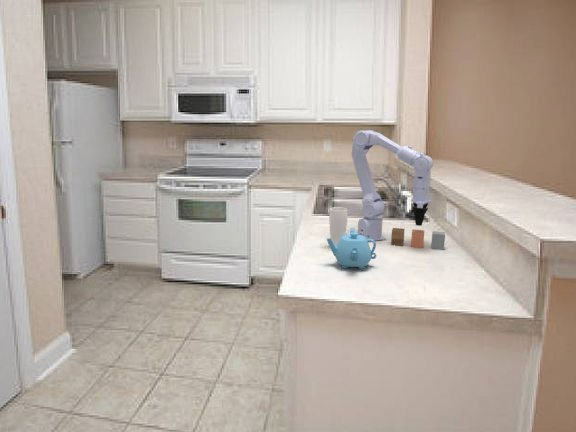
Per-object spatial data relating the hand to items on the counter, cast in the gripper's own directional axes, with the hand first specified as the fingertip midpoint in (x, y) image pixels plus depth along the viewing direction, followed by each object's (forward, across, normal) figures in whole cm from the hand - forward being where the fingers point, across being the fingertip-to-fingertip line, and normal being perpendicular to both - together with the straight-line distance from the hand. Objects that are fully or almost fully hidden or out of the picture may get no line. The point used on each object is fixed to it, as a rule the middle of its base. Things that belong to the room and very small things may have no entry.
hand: (418, 223), depth 168 cm
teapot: (+9, -32, +21) cm, 39 cm away
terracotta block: (+9, 0, 0) cm, 9 cm away
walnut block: (+9, 0, +8) cm, 12 cm away
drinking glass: (+9, -12, +29) cm, 33 cm away
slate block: (+9, 0, -8) cm, 12 cm away
